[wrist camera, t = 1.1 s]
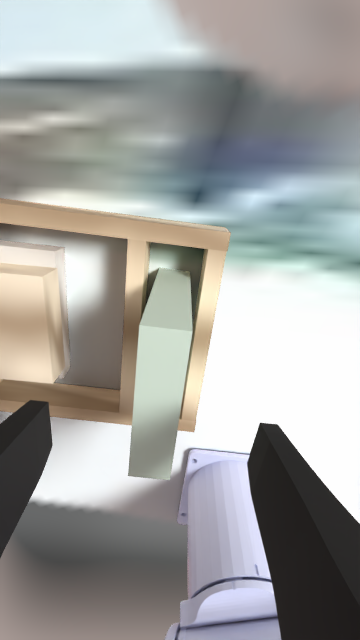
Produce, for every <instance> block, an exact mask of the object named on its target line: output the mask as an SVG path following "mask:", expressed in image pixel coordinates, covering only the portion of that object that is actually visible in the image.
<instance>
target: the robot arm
mask: <svg viewBox="0 0 360 640" xmlns="http://www.w3.org/2000/svg"><path fill="white" fill-rule="evenodd" d="M51 448H52V435H51V424H50V412H49V402H46V401H36V400H29V401H28V402H27V403H25V404H24V405H23V406H22V407H20V408H19V409H18V410H17V411H16V412H14V413H13V414H12V415H11V416H9V417H8V418H7V419H6V420H5V421H3V422H2V423H1V424H0V557H1V555H2V553H3V551H4V549H5V547H6V545H7V543H8V541H9V539H10V537H11V535H12V533H13V531H14V529H15V527H16V525H17V523H18V521H19V519H20V517H21V515H22V513H23V511H24V509H25V507H26V506H27V504H28V502H29V500H30V498H31V496H32V494H33V492H34V490H35V488H36V486H37V483H38V481H39V479H40V477H41V475H42V472H43V470H44V467H45V465H46V462H47V459H48V456H49V454H50V451H51ZM193 459H194V460H193ZM177 522H178V523H179V524H181V525H188V600H185V601H181V602H180V623H174V624H172V625H171V626H170V628H169V630H168V632H167V634H166V637H165V639H164V640H360V524H359V523H358V522H357V521H356V520H355V519H354V517H353V516H352V515H351V514H350V513H349V512H348V511H347V510H346V508H345V507H344V506H343V505H342V504H341V503H340V502H339V501H338V500H337V498H336V497H335V496H334V495H333V494H332V493H331V491H330V490H329V489H328V488H327V487H326V486H325V484H324V483H323V482H322V481H321V479H320V478H319V477H318V476H317V475H316V473H315V472H314V471H313V470H312V468H311V467H310V466H309V465H308V463H307V462H306V461H305V460H304V458H303V457H302V456H301V454H300V453H299V452H298V451H297V449H296V448H295V447H294V445H293V444H292V443H291V442H290V440H289V439H288V438H287V436H286V435H285V434H284V432H283V431H282V430H281V428H280V427H279V426H278V425H276V424H266V423H260V425H259V428H258V431H257V434H256V437H255V440H254V443H253V446H252V450H251V453H250V455H246V454H237V453H227V452H218V451H208V450H199V449H193V450H191V451H190V452H189V456H188V461H187V467H186V472H185V478H184V483H183V489H182V494H181V500H180V505H179V511H178V516H177Z"/></svg>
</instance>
